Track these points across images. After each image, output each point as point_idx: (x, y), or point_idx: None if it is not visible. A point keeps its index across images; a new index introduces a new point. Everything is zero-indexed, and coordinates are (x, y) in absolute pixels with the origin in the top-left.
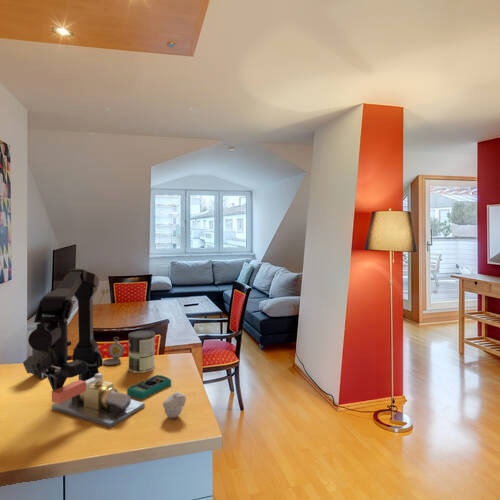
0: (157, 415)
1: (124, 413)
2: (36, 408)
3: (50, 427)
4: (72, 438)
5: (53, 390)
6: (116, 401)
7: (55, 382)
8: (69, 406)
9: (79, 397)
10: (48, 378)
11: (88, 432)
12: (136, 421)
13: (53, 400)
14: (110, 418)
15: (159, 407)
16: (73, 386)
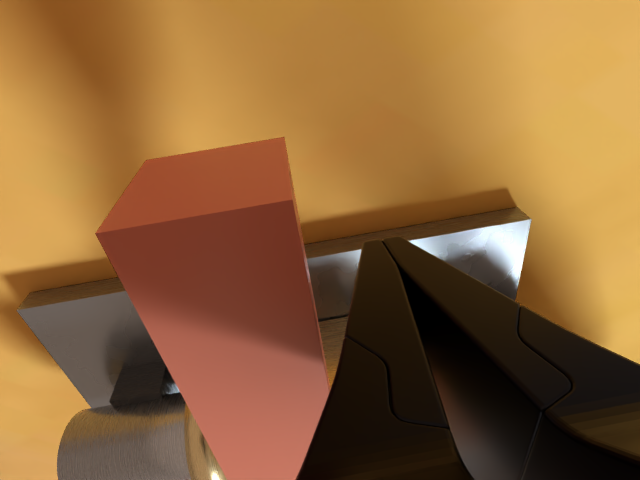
0: (14, 447)
1: (92, 389)
2: (619, 157)
3: (319, 82)
4: (42, 94)
5: (413, 255)
6: (100, 436)
7: (368, 369)
8: None
9: None
10: (614, 367)
11: (58, 197)
12: (15, 384)
13: (245, 149)
14: (85, 333)
15: None
16: (216, 427)
